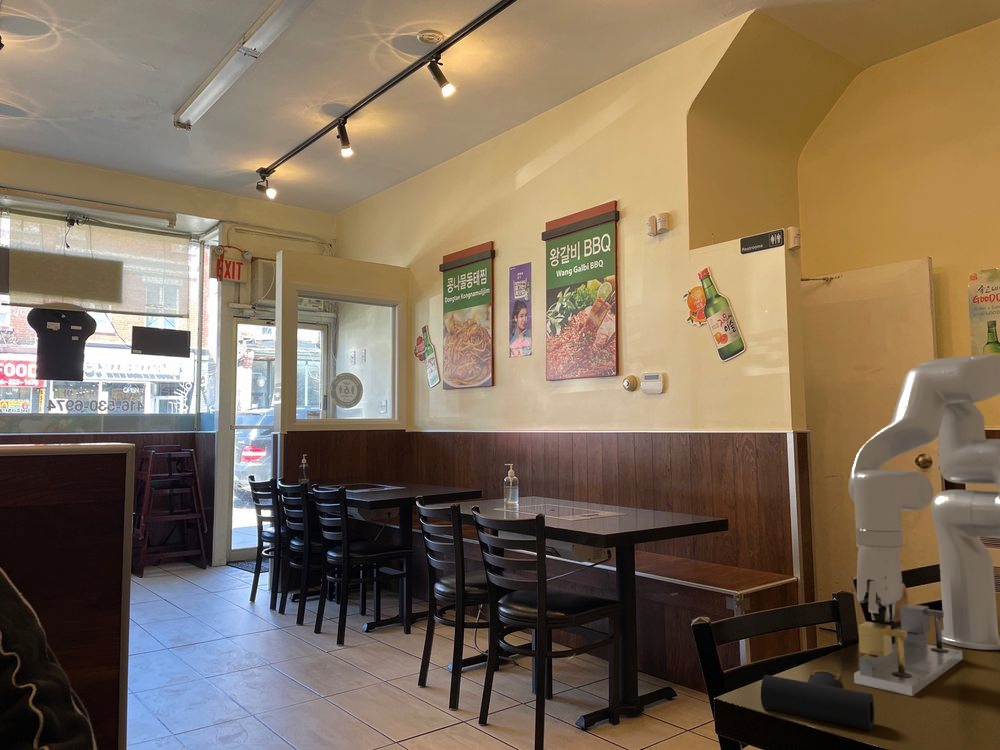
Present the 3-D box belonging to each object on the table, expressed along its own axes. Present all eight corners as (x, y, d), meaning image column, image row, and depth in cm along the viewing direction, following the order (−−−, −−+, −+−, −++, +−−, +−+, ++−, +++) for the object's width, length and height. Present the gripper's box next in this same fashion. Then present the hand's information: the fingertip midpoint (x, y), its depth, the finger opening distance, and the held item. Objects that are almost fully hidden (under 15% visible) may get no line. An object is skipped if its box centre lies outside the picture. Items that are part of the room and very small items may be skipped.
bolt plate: (910, 649, 143) (909, 627, 143) (962, 659, 136) (961, 635, 137) (854, 683, 122) (853, 656, 123) (912, 696, 116) (910, 668, 116)
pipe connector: (779, 659, 119) (879, 676, 110) (781, 692, 119) (881, 711, 110) (760, 678, 110) (867, 698, 101) (761, 714, 109) (869, 737, 100)
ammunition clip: (891, 650, 142) (888, 589, 144) (882, 648, 144) (878, 588, 145) (913, 641, 149) (910, 583, 150) (904, 639, 150) (900, 582, 152)
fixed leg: (908, 640, 142) (906, 603, 143) (948, 647, 137) (946, 609, 138) (902, 644, 140) (899, 606, 140) (942, 651, 135) (940, 612, 135)
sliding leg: (868, 662, 127) (866, 621, 128) (911, 671, 122) (909, 628, 123) (860, 667, 125) (858, 625, 125) (904, 676, 120) (901, 632, 120)
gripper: (872, 534, 138) (877, 631, 136) (841, 541, 128) (846, 646, 126) (914, 538, 132) (920, 639, 130) (886, 545, 122) (892, 655, 120)
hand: (884, 642), depth 128 cm, fingers closed
